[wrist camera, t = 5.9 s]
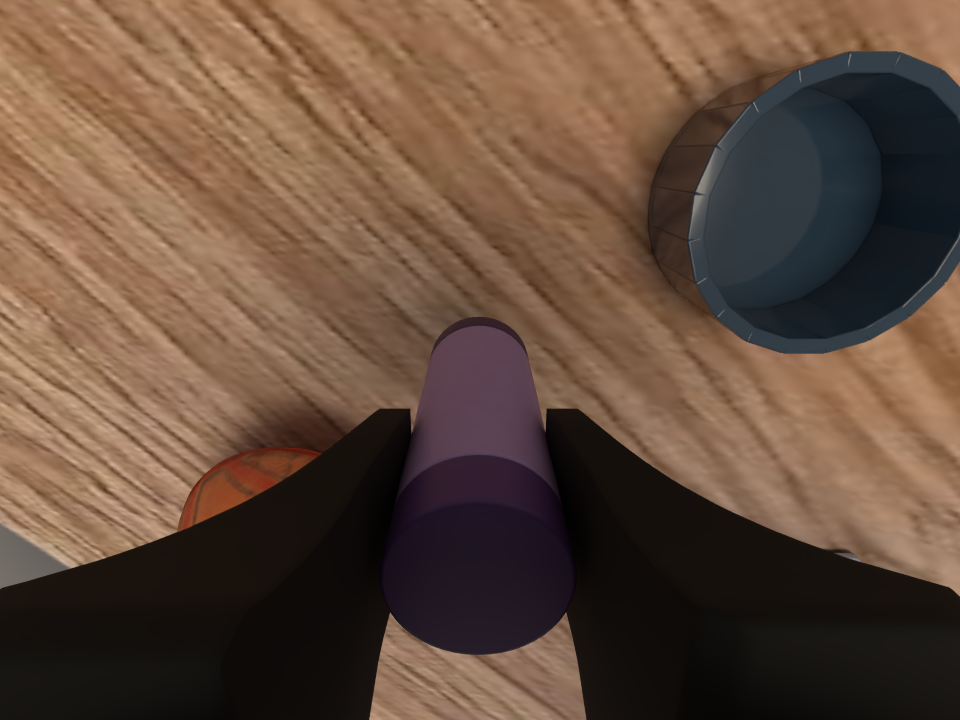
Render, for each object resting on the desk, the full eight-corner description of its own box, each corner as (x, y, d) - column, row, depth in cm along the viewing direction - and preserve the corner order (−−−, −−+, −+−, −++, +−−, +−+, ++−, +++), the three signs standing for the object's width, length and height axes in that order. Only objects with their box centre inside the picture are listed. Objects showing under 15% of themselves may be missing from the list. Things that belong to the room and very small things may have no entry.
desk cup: (852, 316, 20) (937, 354, 16) (636, 317, 20) (671, 353, 16) (916, 72, 17) (1037, 50, 14) (662, 73, 17) (713, 50, 14)
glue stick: (526, 406, 16) (571, 657, 8) (432, 406, 16) (384, 656, 8) (529, 315, 15) (583, 500, 7) (429, 315, 15) (370, 500, 7)
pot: (183, 531, 23) (87, 631, 17) (275, 382, 23) (214, 424, 16) (343, 613, 25) (313, 736, 18) (434, 474, 24) (438, 547, 18)
